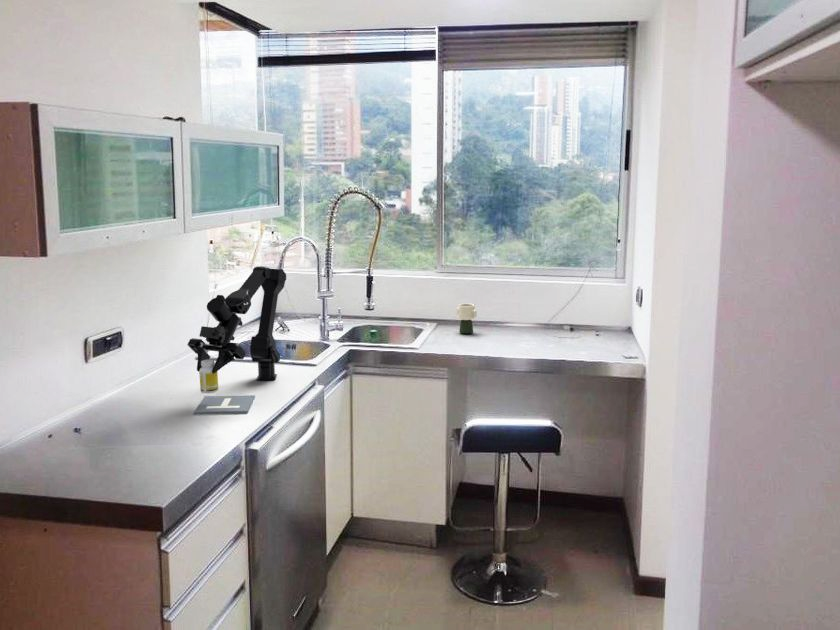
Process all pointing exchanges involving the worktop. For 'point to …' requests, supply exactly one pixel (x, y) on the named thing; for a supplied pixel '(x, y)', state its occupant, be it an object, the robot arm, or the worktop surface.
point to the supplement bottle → (208, 377)
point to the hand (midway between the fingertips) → (205, 371)
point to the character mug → (466, 317)
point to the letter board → (225, 404)
